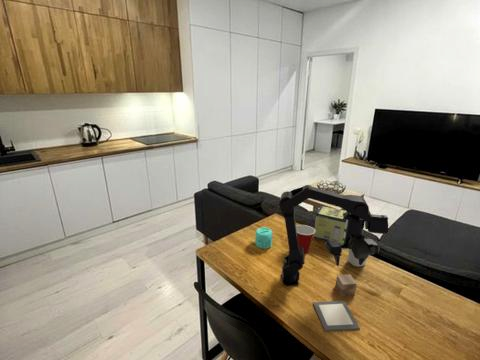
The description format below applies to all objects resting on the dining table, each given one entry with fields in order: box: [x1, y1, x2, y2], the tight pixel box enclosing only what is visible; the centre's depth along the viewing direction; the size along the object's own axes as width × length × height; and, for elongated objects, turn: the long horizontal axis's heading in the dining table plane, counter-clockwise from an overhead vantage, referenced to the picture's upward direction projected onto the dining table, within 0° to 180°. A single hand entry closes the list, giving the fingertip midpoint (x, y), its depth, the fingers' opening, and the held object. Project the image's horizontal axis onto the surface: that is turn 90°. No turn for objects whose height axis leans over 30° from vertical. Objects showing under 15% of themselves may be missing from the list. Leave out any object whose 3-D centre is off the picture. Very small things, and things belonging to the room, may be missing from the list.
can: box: [347, 249, 367, 268], centre depth 119 cm, size 8×8×12 cm
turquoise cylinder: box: [254, 226, 273, 249], centre depth 135 cm, size 8×8×8 cm
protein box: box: [313, 205, 348, 244], centre depth 139 cm, size 10×16×16 cm
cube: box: [335, 274, 358, 297], centre depth 104 cm, size 6×6×6 cm
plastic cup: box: [296, 224, 316, 254], centre depth 130 cm, size 11×11×12 cm
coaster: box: [312, 300, 361, 332], centre depth 93 cm, size 12×12×1 cm
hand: (348, 265), depth 101 cm, fingers open, 9 cm apart
